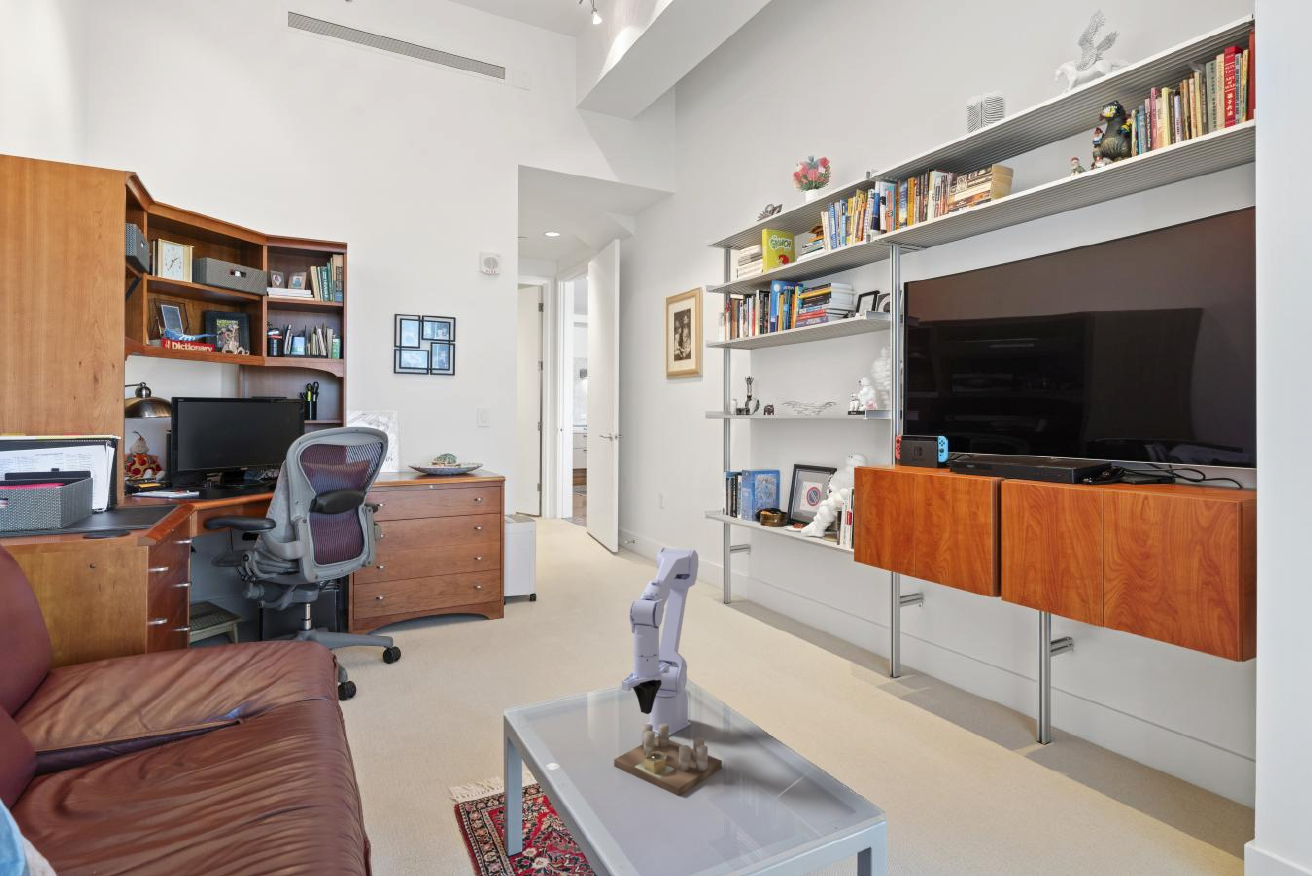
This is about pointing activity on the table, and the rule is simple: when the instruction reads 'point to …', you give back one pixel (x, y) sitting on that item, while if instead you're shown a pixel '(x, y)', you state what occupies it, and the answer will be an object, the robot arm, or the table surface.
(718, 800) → the table surface
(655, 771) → the nut
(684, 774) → the board
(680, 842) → the table surface
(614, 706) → the table surface
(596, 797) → the table surface
